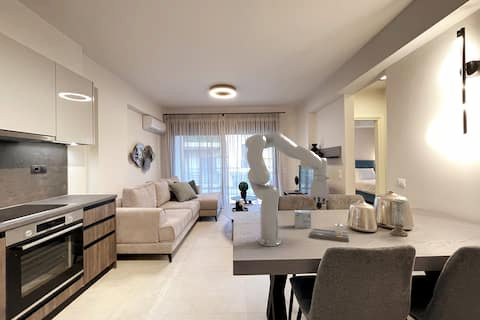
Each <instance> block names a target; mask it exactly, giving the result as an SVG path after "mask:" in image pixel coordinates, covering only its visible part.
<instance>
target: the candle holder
mask: <svg viewBox="0 0 480 320" xmlns="http://www.w3.org/2000/svg"><path fill="white" fill-rule="evenodd" d="M390 202H391V203H394V206H395V207H394V210H395V216H394V217H393V221H392V222H393V223H394V225H393V226H394V227H395V228H393V229H392V230H390V232H389V233H390V234H391V235H393V236H398V237H408V236H409V233H408V232H407V231H406V230H405V229H403V228H404V224H405V219H404V218H403V215H402V210H403V208H402V206H403V204H406V203H407V201H406V200H404V199H391V200H390Z"/></svg>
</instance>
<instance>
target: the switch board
mask: <svg viewBox="0 0 480 320" xmlns="http://www.w3.org/2000/svg"><path fill="white" fill-rule="evenodd" d="M310 238H312V239H319V238H320V239H321V240H329V241H336V242H347V243H349V242H350V237H349V232H348V231H347V230H343V234H342V233H335V229H328V228H327V229H326V228H320V227H319V228H317V227H313V228H312V230H311V233H310Z"/></svg>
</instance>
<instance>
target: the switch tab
mask: <svg viewBox="0 0 480 320" xmlns="http://www.w3.org/2000/svg"><path fill="white" fill-rule="evenodd" d="M343 225H344V224H341V223H340V222H338V223H334V230H335V233H342V234H343V231H344V228H343Z"/></svg>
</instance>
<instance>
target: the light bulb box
mask: <svg viewBox="0 0 480 320" xmlns="http://www.w3.org/2000/svg"><path fill="white" fill-rule="evenodd" d="M293 219H294V220H293V221H294V223H293V224H294V227H295V229H312V212H311V211H310V210H309V209H308V210H305V209H304V210H303V209H301V210H300V209H299V210H295V209H294V210H293Z"/></svg>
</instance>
